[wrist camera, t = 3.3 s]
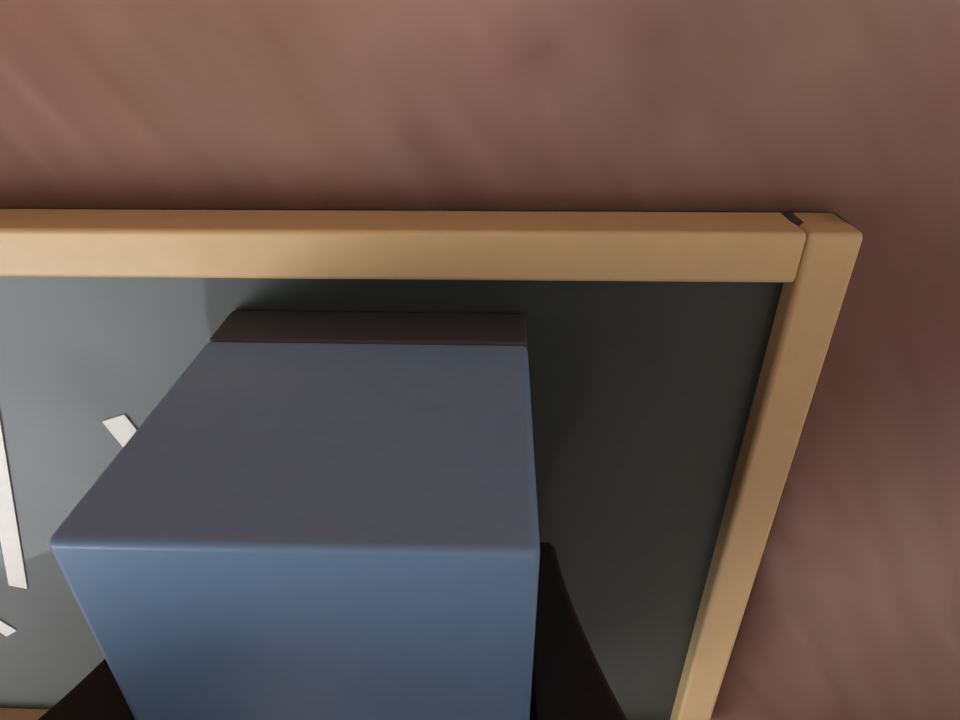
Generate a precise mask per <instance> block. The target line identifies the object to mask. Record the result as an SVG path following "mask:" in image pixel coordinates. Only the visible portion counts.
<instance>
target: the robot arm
mask: <svg viewBox="0 0 960 720" xmlns="http://www.w3.org/2000/svg"><path fill="white" fill-rule="evenodd" d="M38 720H135V718H134V716H133V714H132V712H131V710H130V708H129V706H128V704H127V702H126V700H125V698H124V696H123V694H122V692H121V690H120V688H119V685H118V683H117V681H116V679H115V677H114V675H113V673H112V671H111V669H110V667H109V665H108V663H107V661H106V659H104V660H103V661H102V662H101V663H100V664H99V665H97V666H96V667H95V668H94V669H93V670H92V671H91V672H90V673H89V674H88V675H87V676H86V677H85V678H84V679H83V680H82V681H81V682H80V683H79V684H77V685H76V686H75V687H74V688H73V689H72V690H71V691H70V692H69V693H68V694H66V695H65V696H64V697H63V698H62V699H61V700H60V701H59V702H57V703H56V704H55V705H54V706H53V707H52V708H51V709H49V710H48V711H47V712H46V713H45V714H44V715H43V716H41V717H40V718H39V719H38ZM530 720H627V718H626V716H625V714H624V712H623V710H622V709H621V707H620V705H619V703H618V701H617V699H616V697H615V695H614V693H613V692H612V690H611V688H610V686H609V684H608V682H607V680H606V678H605V676H604V674H603V672H602V670H601V668H600V666H599V664H598V662H597V660H596V658H595V655H594V653H593V651H592V649H591V646H590V644H589V642H588V640H587V637H586V635H585V633H584V631H583V629H582V626H581V624H580V622H579V619H578V617H577V614H576V612H575V609H574V607H573V604H572V602H571V599H570V596H569V594H568V591H567V588H566V585H565V582H564V579H563V576H562V573H561V570H560V567H559V563H558V559H557V555H556V551H555V547H554V546H553V545H552V544H550V543H549V542H540V563H539V578H538V594H537V610H536V626H535V642H534V657H533V673H532V689H531V705H530Z"/></svg>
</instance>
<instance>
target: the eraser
mask: <svg viewBox="0 0 960 720" xmlns="http://www.w3.org/2000/svg"><path fill="white" fill-rule="evenodd" d="M209 342H210V343H208V344H206V345H205V347H204V348H203V349H202V350H201V352H200V353H199V354H198V355H197V357H196V358H195V359H194V360H193V361H192V363H191V364H190V365H189V366H188V368H187V369H186V370H185V371H184V373H183V374H182V375H181V376H180V378H179V379H178V380H177V381H176V383H175V384H174V385H173V386H172V387H171V389H170V390H169V391H168V392H167V394H166V395H165V396H164V397H163V399H162V400H161V401H160V402H159V404H158V405H157V406H156V407H155V409H154V410H153V411H152V412H151V414H150V415H149V416H148V417H147V418H146V420H145V421H144V422H143V423H142V425H141V426H140V427H139V428H138V430H137V431H136V432H135V433H134V435H133V436H132V437H131V438H130V440H129V441H128V442H127V443H126V445H125V446H124V447H123V448H122V449H121V451H120V452H119V453H118V454H117V456H116V457H115V458H114V459H113V461H112V462H111V463H110V464H109V466H108V467H107V468H106V469H105V471H104V472H103V473H102V474H101V475H100V477H99V478H98V479H97V480H96V482H95V483H94V484H93V485H92V487H91V488H90V489H89V490H88V492H87V493H86V494H85V495H84V497H83V498H82V499H81V500H80V502H79V503H78V504H77V505H76V506H75V508H74V509H73V510H72V511H71V513H70V514H69V515H68V516H67V518H66V519H65V520H64V521H63V523H62V524H61V525H60V526H59V528H58V529H57V530H56V531H55V533H54V534H53V535H52V536H51V539H50V549H51V551H52V553H53V555H54V557H55V559H56V561H57V563H58V565H59V567H60V569H61V571H62V573H63V575H64V577H65V579H66V581H67V583H68V585H69V587H70V589H71V591H72V593H73V595H74V597H75V599H76V601H77V603H78V605H79V607H80V609H81V611H82V613H83V615H84V617H85V619H86V621H87V623H88V625H89V627H90V629H91V631H92V633H93V635H94V637H95V639H96V641H97V643H98V645H99V647H100V649H101V651H102V653H103V655H104V657H105V659H106V661H107V663H108V665H109V667H110V669H111V671H112V673H113V675H114V677H115V679H116V681H117V683H118V685H119V688H120V690H121V692H122V694H123V696H124V698H125V700H126V702H127V704H128V706H129V708H130V710H131V712H132V714H133V716H134V718H135V720H530V705H531V689H532V673H533V657H534V642H535V626H536V610H537V594H538V578H539V563H540V542H539V526H538V509H537V493H536V477H535V461H534V444H533V428H532V412H531V396H530V379H529V363H528V352H527V347H528V344H527V328H526V317H525V315H523V314H471V313H382V312H294V311H233V312H231V313H230V314H229V315H228V317H227V318H226V319H225V320H224V322H223V323H222V324H221V325H220V326H219V328H218V329H217V330H216V331H215V333H214V334H213V335H212V336H211V338H210V341H209Z"/></svg>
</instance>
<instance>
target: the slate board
mask: <svg viewBox="0 0 960 720" xmlns="http://www.w3.org/2000/svg"><path fill="white" fill-rule="evenodd" d="M862 240H863V235H862V233H861V232H860V231H858V230H857V229H856V228H854V227H853V226H851V225H850V223H848V222H847V221H846V220H844V219H843V218H841V217H840V216H839V215H837V214H835V213H817V212H600V211H384V210H167V209H0V720H38V719H39V718H40V717H41V716H43V715H44V714H45V713H46V712H47V711H48V710H49V709H51V708H52V707H53V706H54V705H55V704H56V703H57V702H59V701H60V700H61V699H62V698H63V697H64V696H65V695H66V694H68V693H69V692H70V691H71V690H72V689H73V688H74V687H75V686H76V685H77V684H79V683H80V682H81V681H82V680H83V679H84V678H85V677H86V676H87V675H88V674H89V673H90V672H91V671H92V670H93V669H94V668H95V667H96V666H97V665H99V664H100V663H101V662H102V661H103V660H104V659H105V657H104V655H103V653H102V651H101V649H100V647H99V645H98V643H97V641H96V639H95V637H94V635H93V633H92V631H91V629H90V627H89V625H88V623H87V621H86V619H85V617H84V615H83V613H82V611H81V609H80V607H79V605H78V603H77V601H76V599H75V597H74V595H73V593H72V591H71V589H70V587H69V585H68V583H67V581H66V579H65V577H64V575H63V573H62V571H61V569H60V567H59V565H58V563H57V561H56V559H55V557H54V555H53V553H52V551H51V549H50V539H51V536H52V535H53V534H54V533H55V531H56V530H57V529H58V528H59V526H60V525H61V524H62V523H63V521H64V520H65V519H66V518H67V516H68V515H69V514H70V513H71V511H72V510H73V509H74V508H75V506H76V505H77V504H78V503H79V502H80V500H81V499H82V498H83V497H84V495H85V494H86V493H87V492H88V490H89V489H90V488H91V487H92V485H93V484H94V483H95V482H96V480H97V479H98V478H99V477H100V475H101V474H102V473H103V472H104V471H105V469H106V468H107V467H108V466H109V464H110V463H111V462H112V461H113V459H114V458H115V457H116V456H117V454H118V453H119V452H120V451H121V449H122V448H123V447H124V446H125V445H126V443H127V442H128V441H129V440H130V438H131V437H132V436H133V435H134V433H135V432H136V431H137V430H138V428H139V427H140V426H141V425H142V423H143V422H144V421H145V420H146V418H147V417H148V416H149V415H150V414H151V412H152V411H153V410H154V409H155V407H156V406H157V405H158V404H159V402H160V401H161V400H162V399H163V397H164V396H165V395H166V394H167V392H168V391H169V390H170V389H171V387H172V386H173V385H174V384H175V383H176V381H177V380H178V379H179V378H180V376H181V375H182V374H183V373H184V371H185V370H186V369H187V368H188V366H189V365H190V364H191V363H192V361H193V360H194V359H195V358H196V357H197V355H198V354H199V353H200V352H201V350H202V349H203V348H204V347H205V345H206V344H208V343H210V342H209V341H210V338H211V336H212V335H213V334H214V333H215V331H216V330H217V329H218V328H219V326H220V325H221V324H222V323H223V322H224V320H225V319H226V318H227V317H228V315H229V314H230V313H231V312H233V311H294V312H382V313H471V314H523V315H525V317H526V328H527V344H528V347H527V352H528V363H529V379H530V396H531V412H532V428H533V444H534V461H535V477H536V493H537V509H538V526H539V542H549V543H550V544H552V545H553V546H554V547H555V551H556V555H557V559H558V563H559V567H560V570H561V573H562V576H563V579H564V582H565V585H566V588H567V591H568V594H569V596H570V599H571V602H572V604H573V607H574V609H575V612H576V614H577V617H578V619H579V622H580V624H581V626H582V629H583V631H584V633H585V635H586V637H587V640H588V642H589V644H590V646H591V649H592V651H593V653H594V655H595V658H596V660H597V662H598V664H599V666H600V668H601V670H602V672H603V674H604V676H605V678H606V680H607V682H608V684H609V686H610V688H611V690H612V692H613V693H614V695H615V697H616V699H617V701H618V703H619V705H620V707H621V709H622V710H623V712H624V714H625V716H626V718H627V720H710V719H711V715H712V712H713V709H714V706H715V703H716V700H717V696H718V693H719V690H720V687H721V684H722V681H723V678H724V674H725V671H726V668H727V665H728V662H729V659H730V656H731V652H732V649H733V646H734V643H735V640H736V637H737V633H738V630H739V627H740V624H741V621H742V618H743V615H744V611H745V608H746V605H747V602H748V599H749V596H750V593H751V589H752V586H753V583H754V580H755V577H756V574H757V570H758V567H759V564H760V561H761V558H762V555H763V552H764V548H765V545H766V542H767V539H768V536H769V533H770V530H771V526H772V523H773V520H774V517H775V514H776V511H777V507H778V504H779V501H780V498H781V495H782V492H783V489H784V485H785V482H786V479H787V476H788V473H789V470H790V467H791V463H792V460H793V457H794V454H795V451H796V448H797V444H798V441H799V438H800V435H801V432H802V429H803V426H804V422H805V419H806V416H807V413H808V410H809V407H810V404H811V400H812V397H813V394H814V391H815V388H816V385H817V381H818V378H819V375H820V372H821V369H822V366H823V363H824V359H825V356H826V353H827V350H828V347H829V344H830V341H831V337H832V334H833V331H834V328H835V325H836V322H837V318H838V315H839V312H840V309H841V306H842V303H843V300H844V296H845V293H846V290H847V287H848V284H849V281H850V278H851V274H852V271H853V268H854V265H855V262H856V259H857V255H858V252H859V249H860V246H861V243H862Z"/></svg>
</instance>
